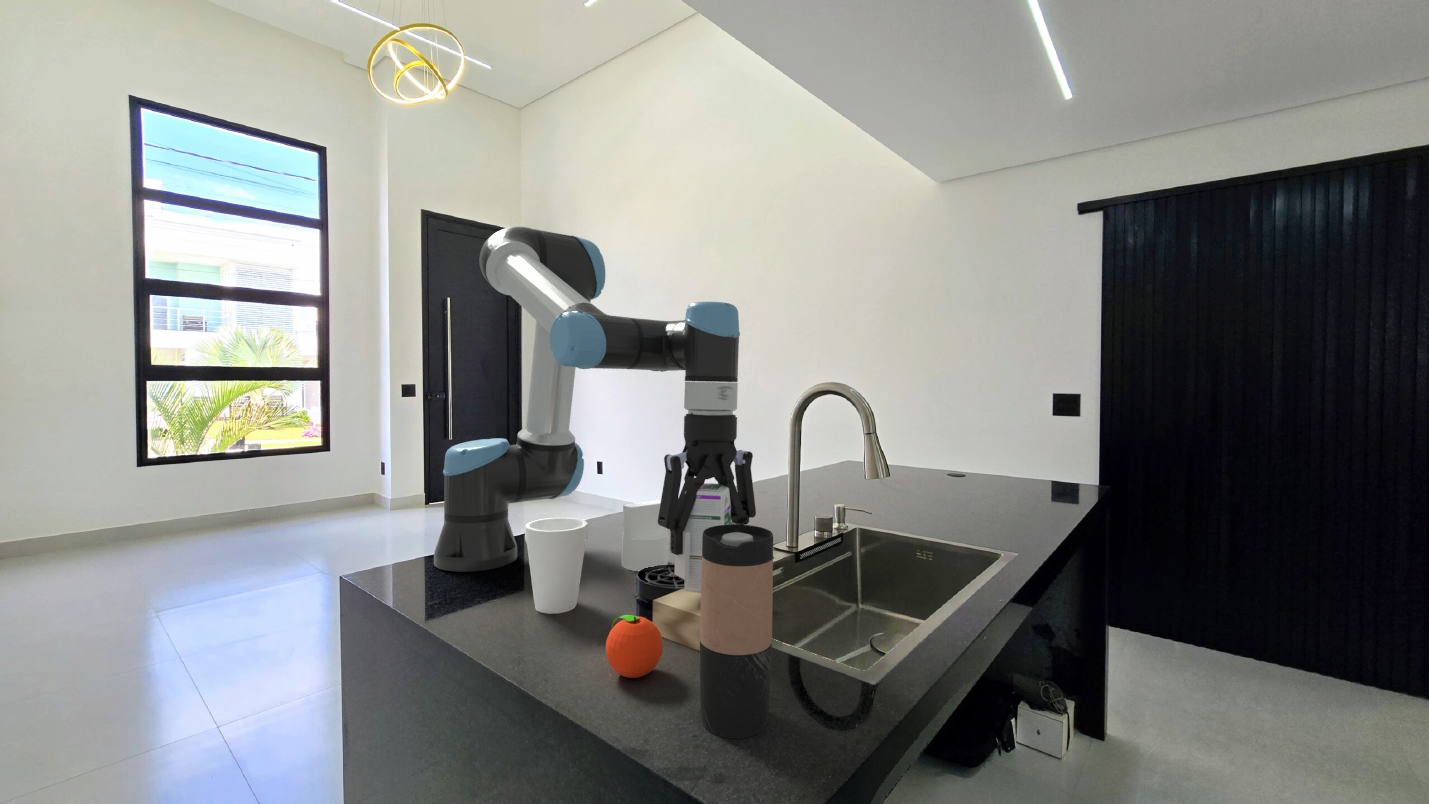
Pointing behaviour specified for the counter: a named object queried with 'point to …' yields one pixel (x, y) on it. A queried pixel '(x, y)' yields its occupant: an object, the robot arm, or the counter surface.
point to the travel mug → (736, 629)
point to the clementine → (634, 646)
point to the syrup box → (705, 526)
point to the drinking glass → (643, 536)
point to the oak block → (679, 617)
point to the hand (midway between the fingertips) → (707, 571)
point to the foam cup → (556, 561)
